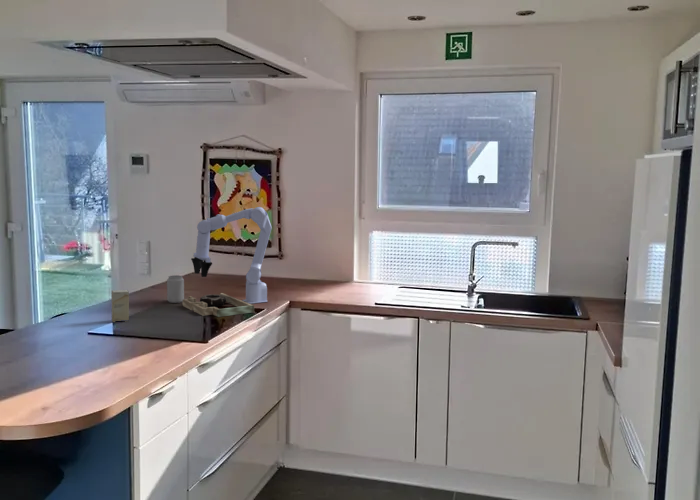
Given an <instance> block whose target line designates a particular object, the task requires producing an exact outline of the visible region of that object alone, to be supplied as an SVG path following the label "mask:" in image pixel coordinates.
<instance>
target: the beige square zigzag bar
mask: <svg viewBox="0 0 700 500" xmlns="http://www.w3.org/2000/svg"><path fill="white" fill-rule="evenodd" d="M219 295H223V296H224V297H225V298H226V303H228V304H230V305H233V307H225V308H224V307H223V308H218V307H217V306H216V307H209V306H207V303H205V302H203V301H202V302H200V301H197V298H196V297H193V296H191V295H190V296H189V295H188V297H187V298H184V299H183V301H182V307H183V308H186V309H188V310H190V311H193V312H194V313H197V314H198V315H200V316H202V317H204V316H210V315H212V316H215V317H218V318H220V317H227V316H235V315H243V314H250V313H251V314H253V313H255V305H254V304H249V303H247V302H244V301H242V300H241V299H239V298H236V297H234V296H231V295H228V294H227V293H224V292H221V293H219Z"/></svg>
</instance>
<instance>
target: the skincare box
mask: <svg viewBox="0 0 700 500" xmlns="http://www.w3.org/2000/svg"><path fill="white" fill-rule="evenodd" d="M129 308H130V292H129V290H128V289H117V290H115V289H113V290H111V321H112V322H113V323H116V322H115V321H121V320H129V321H130V319H129V318H130V309H129Z"/></svg>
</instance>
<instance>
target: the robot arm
mask: <svg viewBox="0 0 700 500" xmlns="http://www.w3.org/2000/svg"><path fill="white" fill-rule="evenodd" d="M241 219H247V220H250V219H251V221H253V222H254V223H255V224H257V227H259V229H260V232H259V235H258V239H257V243H256V246H255V251H254V254H253V258H252V261H251V265H250V267H249V270H248V271H247V273H246V275H245V280H246V281H245V299H242V300H241V301H244V302H246V303H249V304H252V305H254V304H260V303H268V287H267V286H268V285H267V283H265V282H263V281H262V280H261V278H262V264H263V261H264V258H265V254H266V250H267V247H268V243H269V239H270V235H271V232H272V229H273V227H272V224H271V221H270V217H269V214H268V213H267V211H266V210H265V209H264V207H261V206H256V207H255V208H254V207H253V208H251V207H250V208H246V209H242V210H240V211H237V212H233V213H231V214H228V215H224V214H220V213H219V214H216V215H215V216H213V217H210V218H209V217H206V219H203V220H201V221H199V222H198V223H197V226H196V228H197V236H196V249H195V252H193V256H192V257H191V259H190V260H191V262H192V265H193V271H194V274H200V273H201V277H202V278H207V276H208V272H209V270H210V268H211V267H212V265H213V262H211V261H212V258H211V257H210V255H209V254H210V242H211V241H210V240H211V231H215V230H219V229H222V228H225V227H227V225H228V223H231V222H234V221H237V220H238V221H239V220H241Z"/></svg>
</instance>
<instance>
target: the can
mask: <svg viewBox="0 0 700 500" xmlns="http://www.w3.org/2000/svg"><path fill="white" fill-rule="evenodd" d="M166 290H167V291H166V292H167V293H166V299H167V302H168V303H170V304H179V303H183V299H185V279H184V277H183V275H179V274H178V275H177V274H176V275H175V274H174V275H173V274H172V275H169V276H168V278H167V279H166Z"/></svg>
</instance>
